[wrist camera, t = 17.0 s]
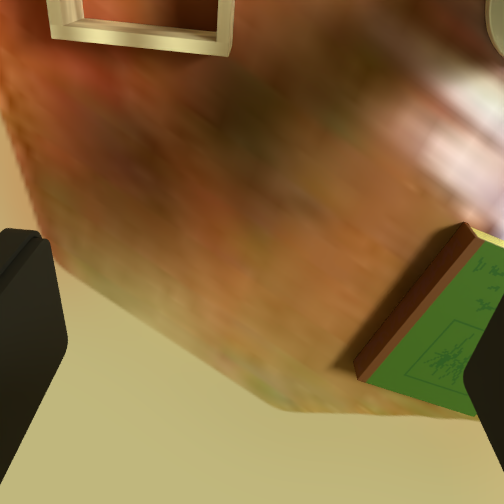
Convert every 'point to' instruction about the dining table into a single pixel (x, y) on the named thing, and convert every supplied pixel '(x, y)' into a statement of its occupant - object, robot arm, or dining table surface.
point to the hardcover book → (439, 324)
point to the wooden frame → (141, 30)
